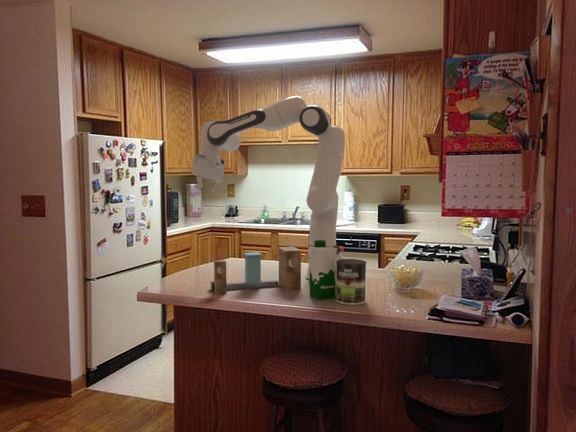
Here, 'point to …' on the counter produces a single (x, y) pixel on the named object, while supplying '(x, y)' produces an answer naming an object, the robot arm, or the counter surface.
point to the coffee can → (350, 281)
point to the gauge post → (220, 277)
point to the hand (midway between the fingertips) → (206, 189)
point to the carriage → (253, 267)
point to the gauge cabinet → (290, 268)
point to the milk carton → (322, 270)
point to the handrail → (248, 285)
